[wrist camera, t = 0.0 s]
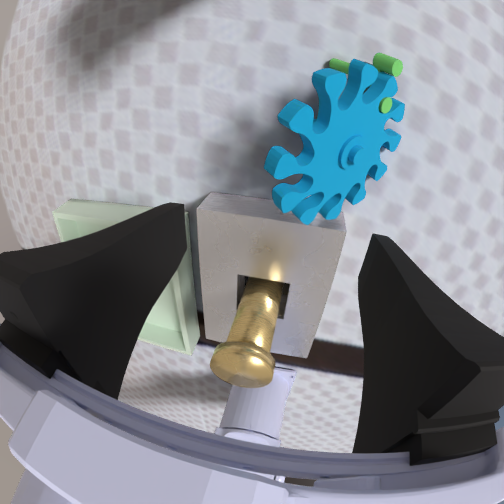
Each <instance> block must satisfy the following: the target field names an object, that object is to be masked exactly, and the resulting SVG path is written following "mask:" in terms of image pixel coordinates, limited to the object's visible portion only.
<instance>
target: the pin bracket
mask: <svg viewBox="0 0 504 504" xmlns="http://www.w3.org/2000/svg"><path fill="white" fill-rule="evenodd" d="M196 210H197V230H198V248H199V263H200V277H201V289H202V301H203V312H204V323H205V332H206V339H210V340H215V341H219V342H223V343H224V342H226V341H227V338H228V335H229V332H230V329H231V326H232V324H233V321H234V318H235V315H236V312H237V309H238V306H239V304H240V301H241V298H242V295H243V292H244V289H245V288H244V287H245V276H250V277H256V278H261V279H267V280H273V281H278V282H284V283H290V285H289V290H288V295H282V296H281V301H280V306H279V311H278V316H277V321H276V326H275V331H274V336H273V341H272V345H271V350H270V352H273V353H278V354H284V355H290V356H296V357H303V358H307V356H308V354H309V351H310V348H311V345H312V343H313V340H314V337H315V334H316V331H317V328H318V326H319V323H320V320H321V317H322V314H323V311H324V308H325V304H326V301H327V298H328V295H329V292H330V289H331V285H332V282H333V279H334V275H335V272H336V268H337V265H338V261H339V258H340V254H341V251H342V247H343V243H344V240H345V236H346V226H345V219H344V214H343V212H342V211H341V212H340V214H339V216H338V217H337V218H336V219H332V220H326V219H325V218H324V217H323V216H322V215H321V214H320V213H319V212H318V213H317V215H316V217H315V219H314V220H313V221H312V222H311V223H310V224H309V225H306V224H304V223H302V222H301V221H300V220H299V219H298V218H297V217H296V216H295V215H294V214H293V213H292V211H289V212H287V213H283V212H282V211H281V210H280V209H279V208H278V207H277V206H276V205H275V204H274V202H273V200H269V199H262V198H255V197H247V196H240V195H232V194H224V193H215V192H211V193H210V194H209V195H208V196H207V197H206V198H205V199H204V201H203V202H202V203H201V204H200V205H199V206H198V208H197V209H196Z"/></svg>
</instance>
